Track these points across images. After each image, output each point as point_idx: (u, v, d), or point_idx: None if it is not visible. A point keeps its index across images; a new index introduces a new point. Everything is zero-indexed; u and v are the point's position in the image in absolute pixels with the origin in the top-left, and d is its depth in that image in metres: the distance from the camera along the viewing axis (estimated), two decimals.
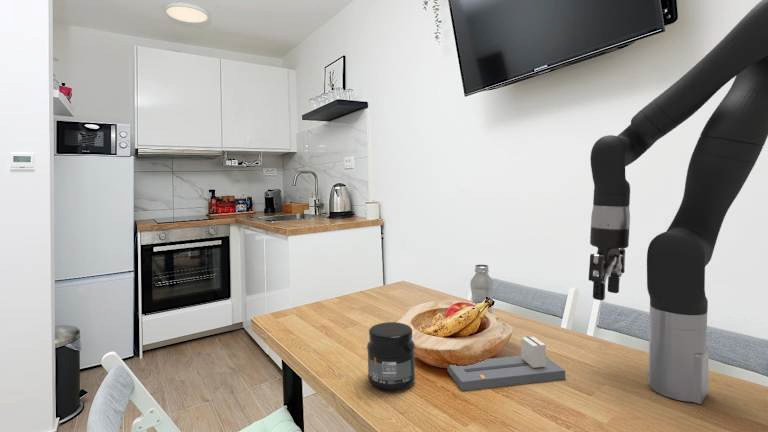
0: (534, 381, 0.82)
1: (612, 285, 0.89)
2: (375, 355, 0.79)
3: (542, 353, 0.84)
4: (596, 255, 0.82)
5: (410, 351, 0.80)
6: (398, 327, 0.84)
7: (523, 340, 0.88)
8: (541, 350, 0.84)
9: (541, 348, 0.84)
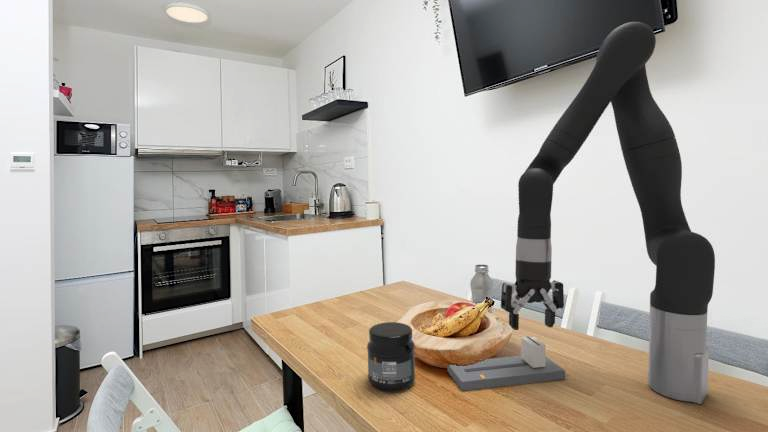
0: (534, 381, 0.82)
1: None
2: (375, 355, 0.79)
3: (542, 353, 0.84)
4: (559, 282, 0.87)
5: (410, 351, 0.80)
6: (398, 327, 0.84)
7: (523, 340, 0.88)
8: (541, 350, 0.84)
9: (541, 348, 0.84)
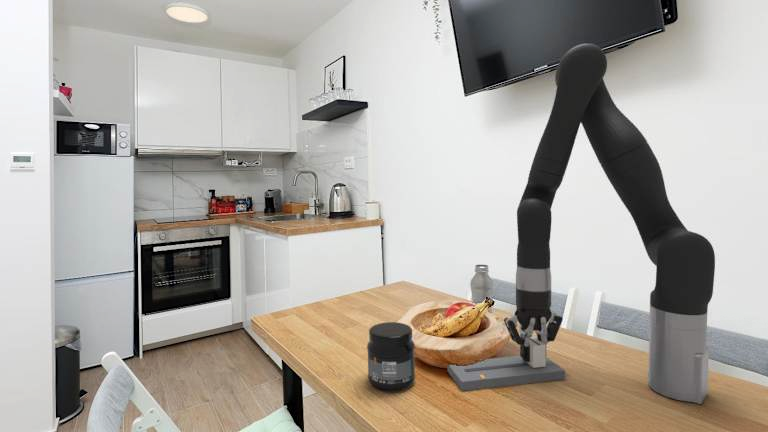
0: (534, 381, 0.82)
1: None
2: (375, 355, 0.79)
3: (542, 353, 0.84)
4: None
5: (410, 351, 0.80)
6: (398, 327, 0.84)
7: None
8: (541, 350, 0.84)
9: (541, 348, 0.84)
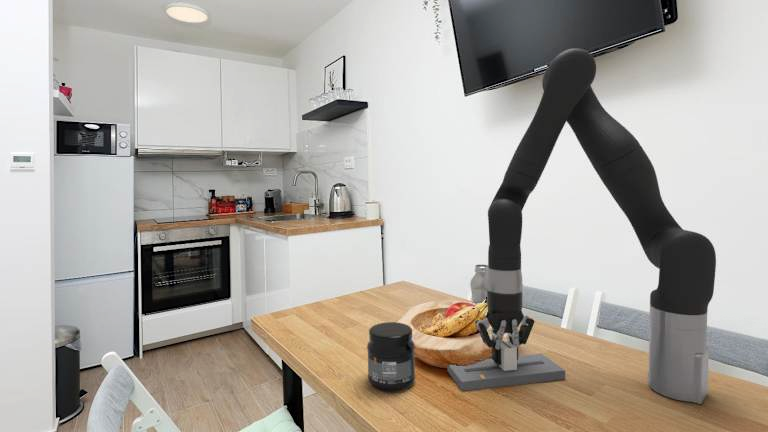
0: (534, 381, 0.82)
1: None
2: (375, 355, 0.79)
3: (513, 356, 0.83)
4: None
5: (410, 351, 0.80)
6: (398, 327, 0.84)
7: None
8: (512, 353, 0.83)
9: (512, 351, 0.83)
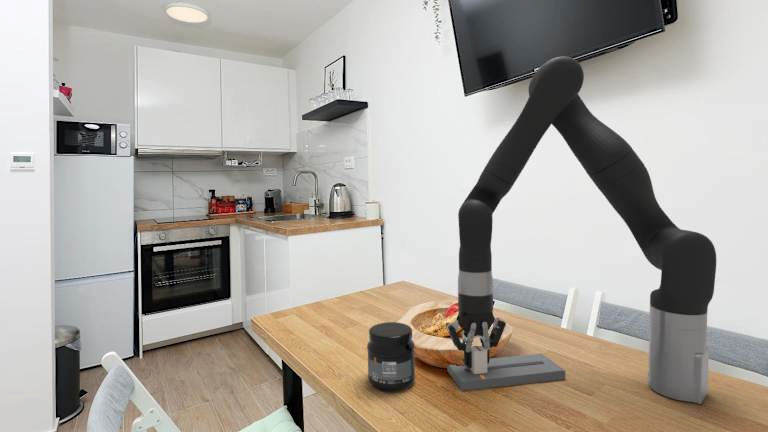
0: (534, 381, 0.82)
1: None
2: (375, 355, 0.79)
3: (484, 359, 0.82)
4: None
5: (410, 351, 0.80)
6: (398, 327, 0.84)
7: None
8: (482, 356, 0.82)
9: (482, 354, 0.82)
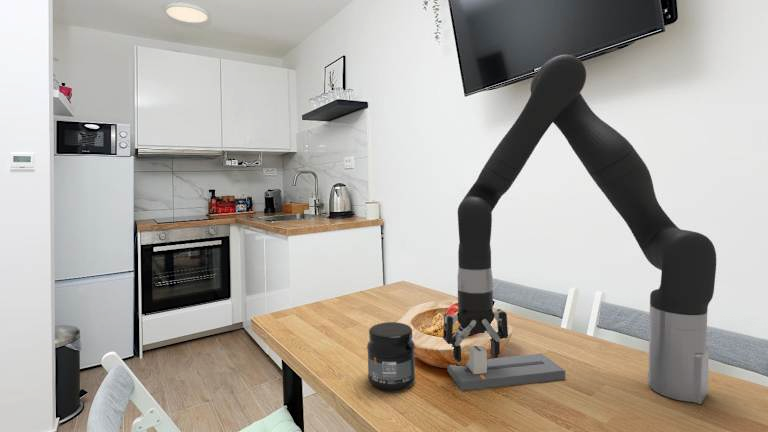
0: (534, 381, 0.82)
1: None
2: (375, 355, 0.79)
3: (483, 359, 0.82)
4: (503, 311, 0.85)
5: (410, 351, 0.80)
6: (399, 327, 0.84)
7: None
8: (482, 356, 0.82)
9: (482, 354, 0.82)
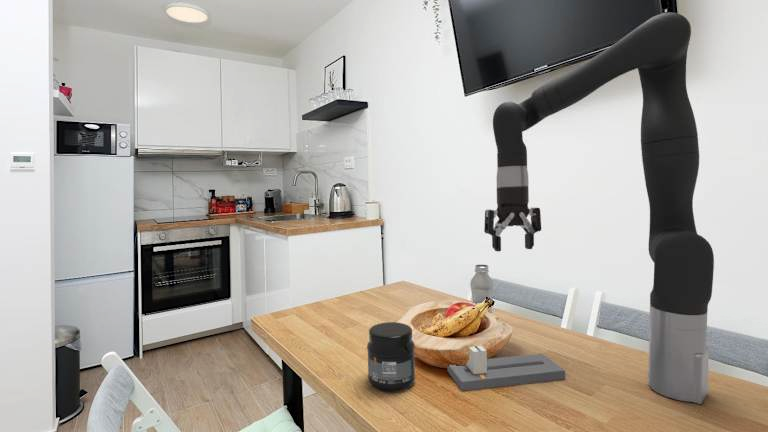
0: (534, 381, 0.82)
1: None
2: (375, 355, 0.79)
3: (483, 359, 0.82)
4: None
5: (410, 351, 0.80)
6: (398, 327, 0.84)
7: None
8: (482, 356, 0.82)
9: (482, 354, 0.82)
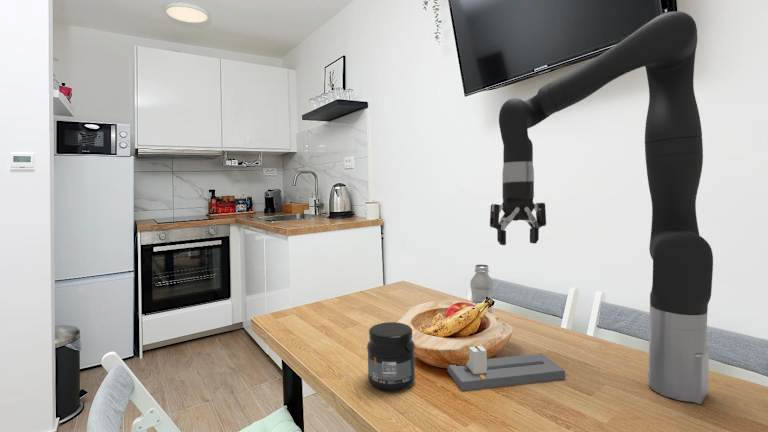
0: (534, 381, 0.82)
1: None
2: (375, 355, 0.79)
3: (483, 359, 0.82)
4: None
5: (410, 351, 0.80)
6: (398, 327, 0.84)
7: None
8: (482, 356, 0.82)
9: (482, 354, 0.82)
